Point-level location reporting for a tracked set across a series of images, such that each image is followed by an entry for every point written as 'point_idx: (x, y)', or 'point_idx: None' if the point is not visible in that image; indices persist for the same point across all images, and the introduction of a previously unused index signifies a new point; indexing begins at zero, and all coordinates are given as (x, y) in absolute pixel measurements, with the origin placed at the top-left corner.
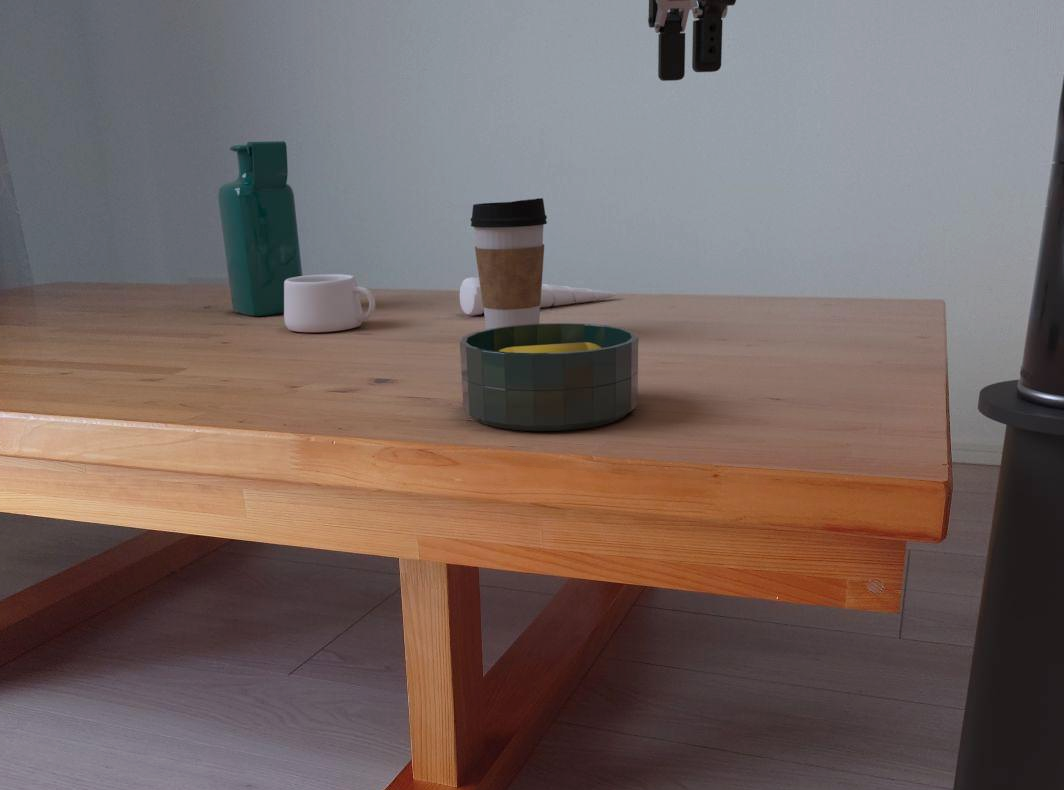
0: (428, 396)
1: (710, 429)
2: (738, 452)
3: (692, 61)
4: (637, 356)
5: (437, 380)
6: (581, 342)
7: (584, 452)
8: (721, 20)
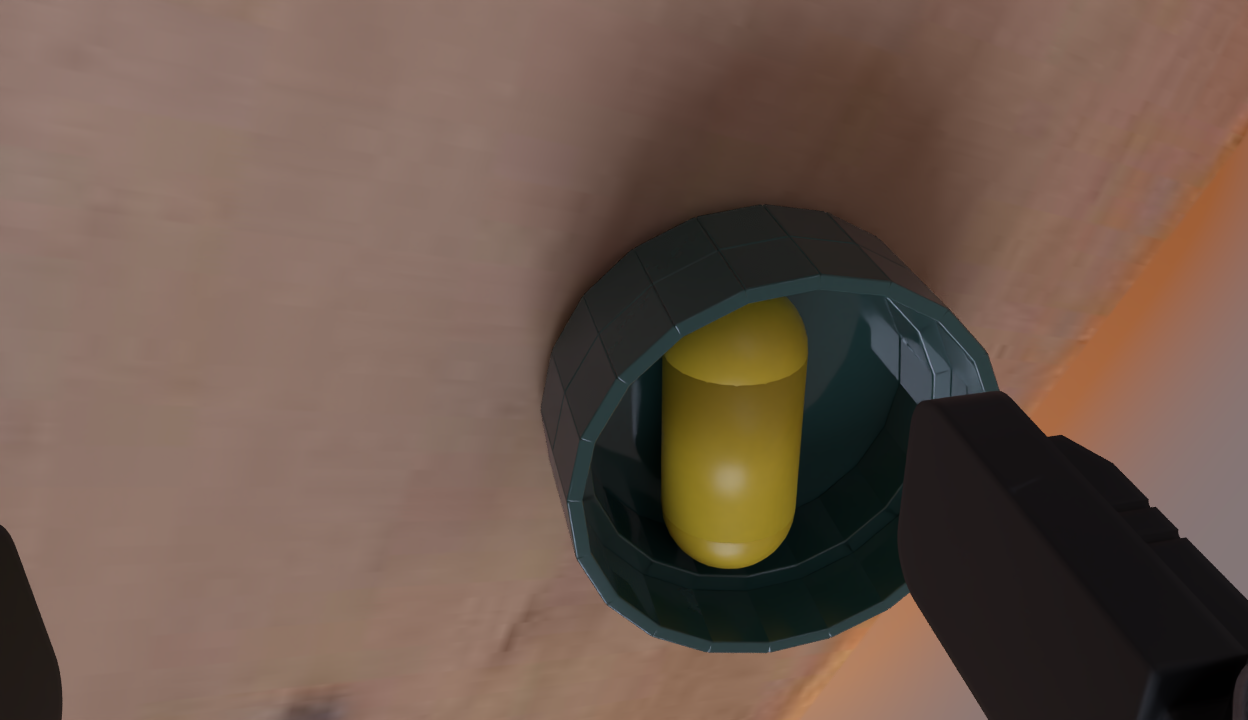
0: (506, 616)
1: (1015, 76)
2: (1188, 73)
3: (934, 619)
4: (878, 263)
5: (327, 612)
6: (749, 391)
7: (1052, 349)
8: (1239, 656)
